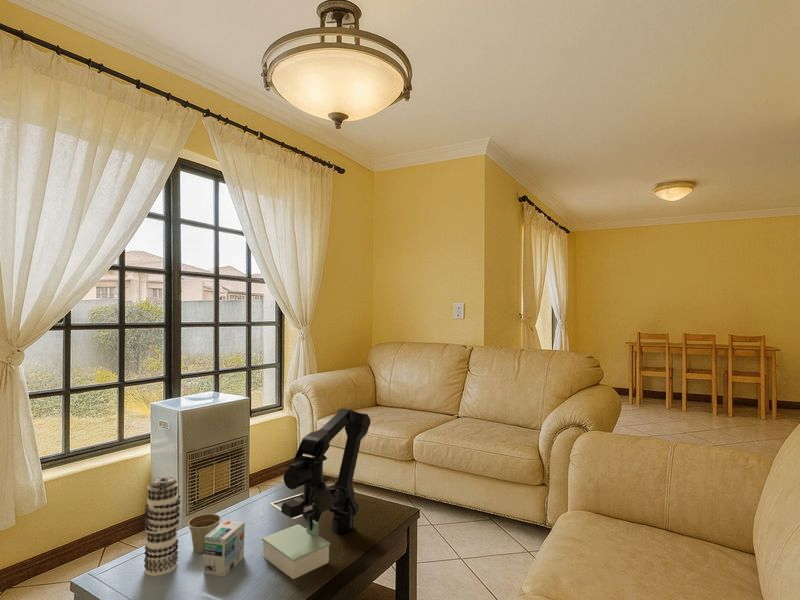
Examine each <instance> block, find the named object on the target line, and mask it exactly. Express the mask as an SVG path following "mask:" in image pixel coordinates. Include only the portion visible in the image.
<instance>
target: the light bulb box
mask: <svg viewBox="0 0 800 600" xmlns="http://www.w3.org/2000/svg"><path fill="white" fill-rule="evenodd" d="M245 526H246V524H245V522H239V521H234V520H233V521H232V520H226V519H225V520H224V521H223V522H222V523H219V525H218V527H216V528H215V529H214V530H212V531H211V532H210V533H209V534H207V535H206V536H205V544H204V552H203V557H204V558H203V575H204V576H205V575H214V576H218V577H219V576H220V577H225V576H226V575H228V574H229V573H230V572H231V570H232V569H234V567H236V566H237V565H238V563H240V562H241V561H242V560H243V559H244V557H245V533H246V532H245V531H246V530H245Z"/></svg>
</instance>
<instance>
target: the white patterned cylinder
mask: <svg viewBox="0 0 800 600" xmlns="http://www.w3.org/2000/svg"><path fill="white" fill-rule="evenodd" d="M178 485H179V481H178V480H176V479H175V478H174V477H172V476H162V477H157V478H154V479H153V480H152V481H151V482H150V484H148V485H147V487H146V489H147V490H148V491H147V498H146V505H144V514H143V515H144V516H145V519H144V520H145V521H144V524H145V525H144V530H145V531H146V532H147V533H146V536H147V537H146V540H145V545H144V549H145V551H144V555H145V556H144V560H143V561H144V565H143V567H144V574H145V573H146V574H147V576H149V575H150V577H158V575H159V576H164V575H167V574H169V573H171V572H173V571H174V570H175V569H177V567H178V564H177V563H178V561H179V560H178V559H179V556H178V554H179V551H178V549H179V548H178V547H179V545H178V544H179V539H178V532H177V528H178V526H179V522H180V520H179V519H178V518H179V517H180V512H179V511H180V510H181V508H180V506H179V505H180V504H181V500H180V498H181V495H180V494H179V493H178V490H179V489H178ZM172 570H173V571H172ZM166 573H167V574H166ZM146 574H145V575H146ZM163 574H164V575H163Z"/></svg>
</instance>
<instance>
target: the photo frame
mask: <svg viewBox="0 0 800 600" xmlns="http://www.w3.org/2000/svg"><path fill="white" fill-rule="evenodd" d="M301 494H303V492H302V493H299V494H296V495H293V496H289V497H286V498H284V499H280V500H277V501H274V502H270V503H269V505H270V506H272V507H273V508H275V509H276V510H278V511H279V512H281V507H279V506H278V505H276V504H277V503H280V502H283V501H284V502H285V501H286V500H291V499H294V498H296V497H299V496H300V497H301ZM287 517H289V516H287ZM300 517H303V515H302V514H301V515H300V516H297V517H294V518H290V517H289V518H290V519H291V520H294V519H297V518H300Z"/></svg>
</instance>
